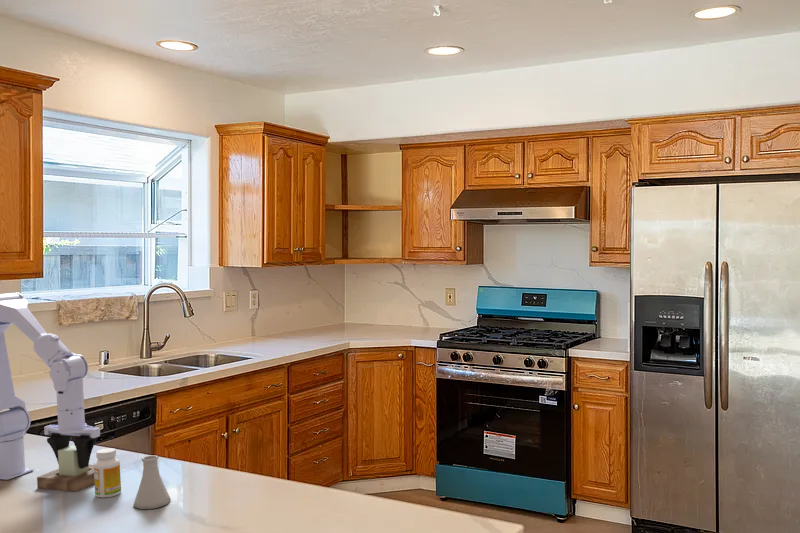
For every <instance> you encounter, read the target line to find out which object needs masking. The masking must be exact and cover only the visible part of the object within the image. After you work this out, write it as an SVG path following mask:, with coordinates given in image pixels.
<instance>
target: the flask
mask: <svg viewBox="0 0 800 533" xmlns="http://www.w3.org/2000/svg"><path fill="white" fill-rule="evenodd" d="M159 459H160V458H159V455H154V454H153V455H146V456H143V457H142V458H141V462H142V463H143V470H142V476H141V480H140V483H139V487H138V489H137V492H136V496H135V499H134V502H133V505H132V507H134V508H137V509H140V510H146V509H148V510H149V509H153V510H154V509H157V508H160V507H164V506H166V505H168V504H169V502H170V501H171V500H172V499H171V497H170V494H169V492H168V491H167V490H168V489H167V488H166V486H165V484H164V481H163V479H162V477H161V473H160V471H159V467H158V460H159Z"/></svg>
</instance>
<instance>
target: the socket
mask: <svg viewBox="0 0 800 533" xmlns="http://www.w3.org/2000/svg"><path fill="white" fill-rule="evenodd" d="M36 482H37V483H36V484H37V489H45V490H56V491H65V492H66V491H67V492H79V491H81V490H83V489H85V487H86V488H88V487H90V486H92V485H95V484H94V464H89V471H87V472H84V473H82V474H79V475H77V476H64V475H59V468H57V469H53V470H52V471H49V472H47V473H44V474H42V475H39V476H37V477H36ZM91 484H92V485H91ZM89 485H90V486H89ZM87 486H88V487H87Z"/></svg>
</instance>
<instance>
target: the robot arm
mask: <svg viewBox="0 0 800 533" xmlns="http://www.w3.org/2000/svg"><path fill="white" fill-rule="evenodd" d="M11 325H15V326H16V327H17V328H18V329H19V331H21V332H22V333H23V334H24V335H25V336H26V337H28V338H29V340H30V341H31V342H33V351H34V352H35V354H36V355H37V356H38V357H39V358H40V359H41V360H42V362H44V364H46V366H48V368H49V369H50V370H48V373H49V377H50V379H51V380H52V383H53V389H54V391H56V407H57V424H49V425H48V424H47V425H46V426H44V427H43V429H44V430H43V431H44V435H45V436H49V435H50V437H47V438H46V442H47V444H48V445H49V446H50V447H51V449H52V452H53V453H54V456H55V458H56V462H57V464H58V465H59V461H58V450H60V449H63V448H66V447H69V446H70V441H71V436H73V437H78V438H75V439H72V442H73V445H75V447H76V450H77V454H78V462H79V467H80V469H83V468H85V467H88V465H90V459H91V455H92V451H93V449H94V446H95V444H96V443H97V440H98V437H100V436H101V428H100V427H96V426H91V425H88V424H87V423H86V419H85V416H86V415H85V398H84V397H85V396H84V395H85V394H84V378H85V377H86V376H87V375H88V371H89V365H88V362H87V360H86V359H85V357H84V356H83V355H82V354H77V353H75V352H72V351H71V350H70V349H69V348H68V347H67V346H66V345H65V343H63V342H62V340H60V337H59V335H57V334H54V333H47V331H46V330H45V329H44V328H43V326H42V325H41V324H40V322H39V321H38V319H37V318H36V317H35V316H34V315H33V313H32V311H30V308H29V300H27V299H26V298H25V296H24V295H23V294H22V293H20V291H19V292H18V291H14V292H13V291H12V292H9V293H8V292H7V293H0V480H6V481H7V480H12V479H14V478H17V477H19V476H20V477H21V476H22V475H24V474H28V473H30V472H33V471H34V470H35V468H32V467H26V460H25V458H26V457H25V456H26V455H25V441H24V440H25V438H24V436H26V435H27V431H28V430H29V429H30V426H31V424H32V423H31V422H32V419H31V416H30V415H31V414H30V412H29V411H28V409H27V407H26V402H25V400H23V399H21V398H19V397H18V396H16V393H15V388H14V383H13V377H12V371H11V366H10V361H9V355H8V354H9V353H8V349H7V344H6V339H5V332H6V331H7V329H8V328H9V327H10V326H11Z"/></svg>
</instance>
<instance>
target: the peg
mask: <svg viewBox="0 0 800 533" xmlns="http://www.w3.org/2000/svg"><path fill="white" fill-rule="evenodd" d="M58 461H59V464H58V469H59V475H64V476H77V475H79V474H82V473H84V472H87V471H89V465H90V464H89V465H88V467H85V468H83V469H80V467H79V462H78V454H77V450H76V447H75V444H73V445H69V447H66V448H63V449H60V450H58ZM58 461H57V462H58Z"/></svg>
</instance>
